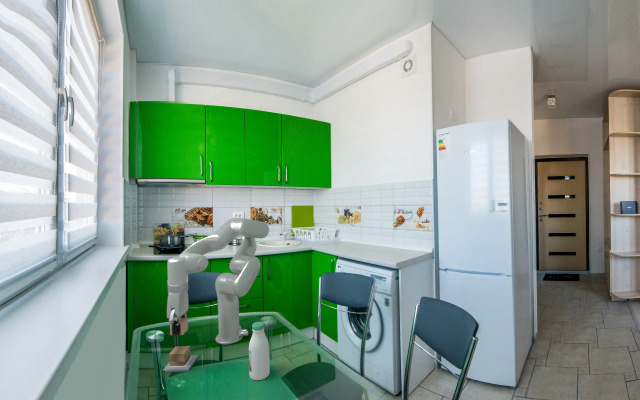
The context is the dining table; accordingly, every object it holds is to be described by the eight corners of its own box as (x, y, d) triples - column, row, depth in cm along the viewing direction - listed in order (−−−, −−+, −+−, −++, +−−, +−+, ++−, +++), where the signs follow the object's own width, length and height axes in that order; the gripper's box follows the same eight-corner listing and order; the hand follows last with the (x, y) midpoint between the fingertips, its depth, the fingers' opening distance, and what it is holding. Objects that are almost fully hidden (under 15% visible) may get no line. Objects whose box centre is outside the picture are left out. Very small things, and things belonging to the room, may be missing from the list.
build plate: (198, 357, 131) (197, 355, 131) (188, 370, 121) (188, 368, 121) (174, 357, 131) (174, 355, 131) (163, 371, 121) (162, 369, 121)
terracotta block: (188, 329, 128) (187, 317, 127) (182, 334, 123) (182, 322, 122) (176, 329, 127) (175, 317, 127) (170, 335, 123) (170, 322, 122)
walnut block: (190, 357, 129) (190, 346, 129) (184, 365, 123) (184, 353, 123) (176, 358, 129) (175, 346, 129) (169, 366, 123) (169, 354, 123)
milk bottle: (273, 370, 120) (271, 320, 119) (263, 382, 112) (262, 329, 112) (256, 367, 122) (254, 318, 122) (245, 378, 115) (243, 326, 114)
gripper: (178, 281, 133) (179, 322, 133) (158, 294, 116) (159, 341, 116) (195, 281, 133) (196, 322, 134) (178, 294, 116) (179, 341, 117)
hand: (179, 330), depth 125 cm, fingers closed on terracotta block, 5 cm apart
